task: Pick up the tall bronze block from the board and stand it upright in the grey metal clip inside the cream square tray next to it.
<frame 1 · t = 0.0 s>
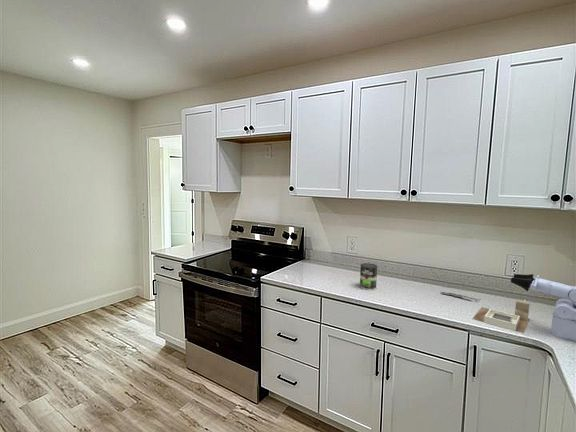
hand: (512, 277, 145), 22 cm above the worktop, tool horizontal, fingers open, 7 cm apart
tall bronze block: (521, 318, 150), point 1 cm above the worktop, touching board
board: (500, 320, 149), on the worktop
coffee can: (368, 287, 194), on the worktop
driftwood: (459, 298, 179), on the worktop
cream square tray: (501, 323, 145), resting on board
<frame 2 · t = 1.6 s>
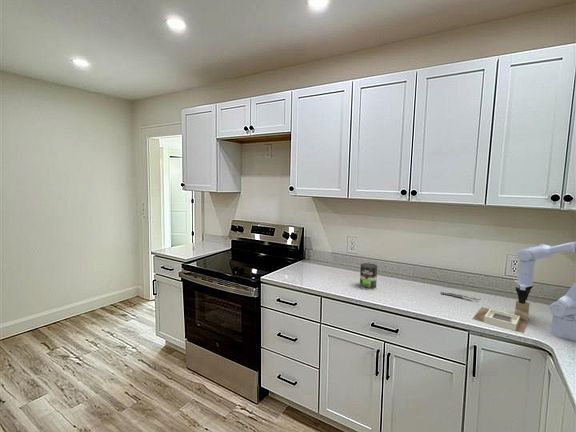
hand: (522, 301, 149), 9 cm above the worktop, tool pointing down, fingers open, 7 cm apart
nothing on the worktop moved.
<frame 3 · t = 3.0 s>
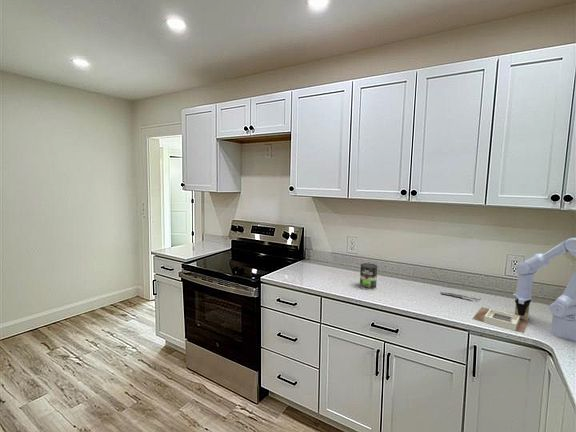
hand: (521, 314, 150), 3 cm above the worktop, tool pointing down, fingers closed on tall bronze block, 2 cm apart
tall bronze block: (521, 318, 150), point 1 cm above the worktop, touching board, gripper
everything else where it was.
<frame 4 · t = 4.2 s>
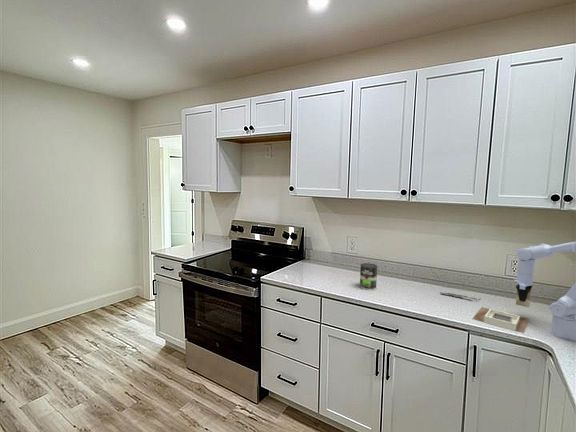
hand: (522, 300, 149), 10 cm above the worktop, tool pointing down, fingers closed on tall bronze block, 2 cm apart
tall bronze block: (522, 305, 149), point 7 cm above the worktop, touching gripper
everything else where it was.
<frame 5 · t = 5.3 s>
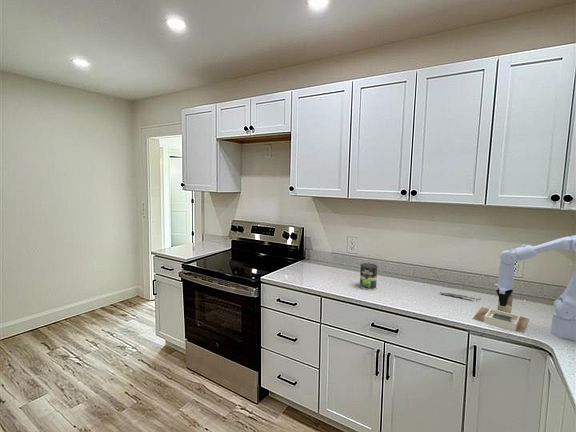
hand: (503, 304, 144), 9 cm above the worktop, tool pointing down, fingers closed on tall bronze block, 2 cm apart
tall bronze block: (504, 310, 144), point 6 cm above the worktop, touching gripper
everything else where it was.
when the fingers open (5 cm above the worktop, at t = 6.4 s): tall bronze block stays where it is, resting on cream square tray.
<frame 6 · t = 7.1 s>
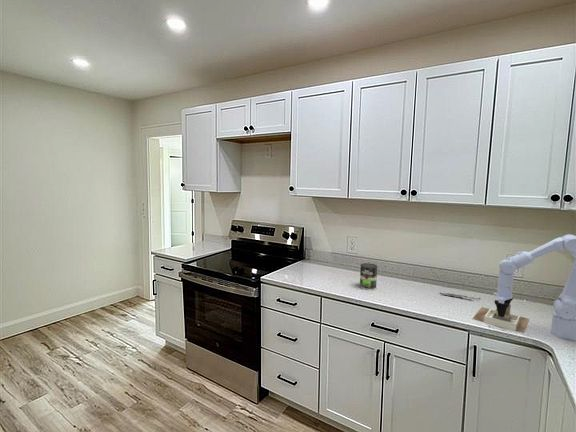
hand: (502, 314, 145), 5 cm above the worktop, tool pointing down, fingers open, 7 cm apart
tall bronze block: (502, 320, 145), point 2 cm above the worktop, touching cream square tray
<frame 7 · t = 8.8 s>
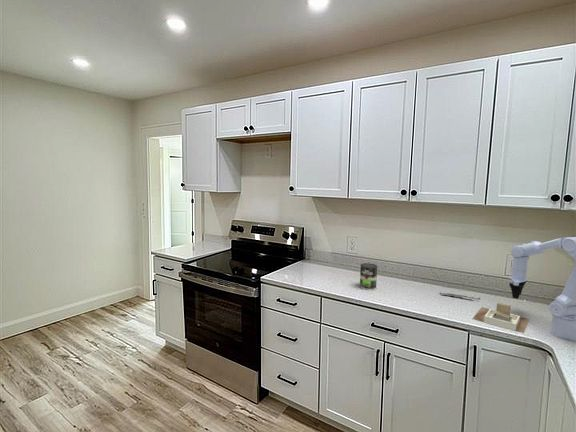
hand: (516, 296, 154), 10 cm above the worktop, tool pointing down, fingers open, 7 cm apart
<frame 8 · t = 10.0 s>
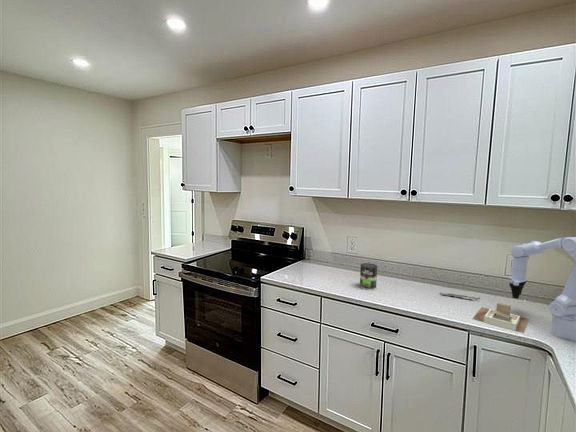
hand: (516, 296, 154), 10 cm above the worktop, tool pointing down, fingers open, 7 cm apart
at the end: tall bronze block 0.1 cm off-centre on the cream square tray, point 1.6 cm above the cream square tray's base; tall bronze block tilted 0°; the gripper is holding nothing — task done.
